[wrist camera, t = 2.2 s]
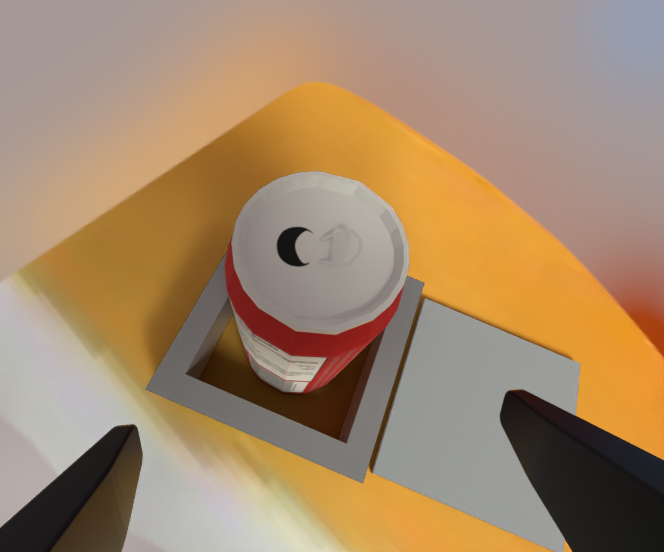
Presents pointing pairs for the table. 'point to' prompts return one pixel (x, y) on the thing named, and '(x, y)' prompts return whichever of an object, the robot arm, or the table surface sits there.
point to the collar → (338, 455)
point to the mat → (471, 420)
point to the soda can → (313, 276)
